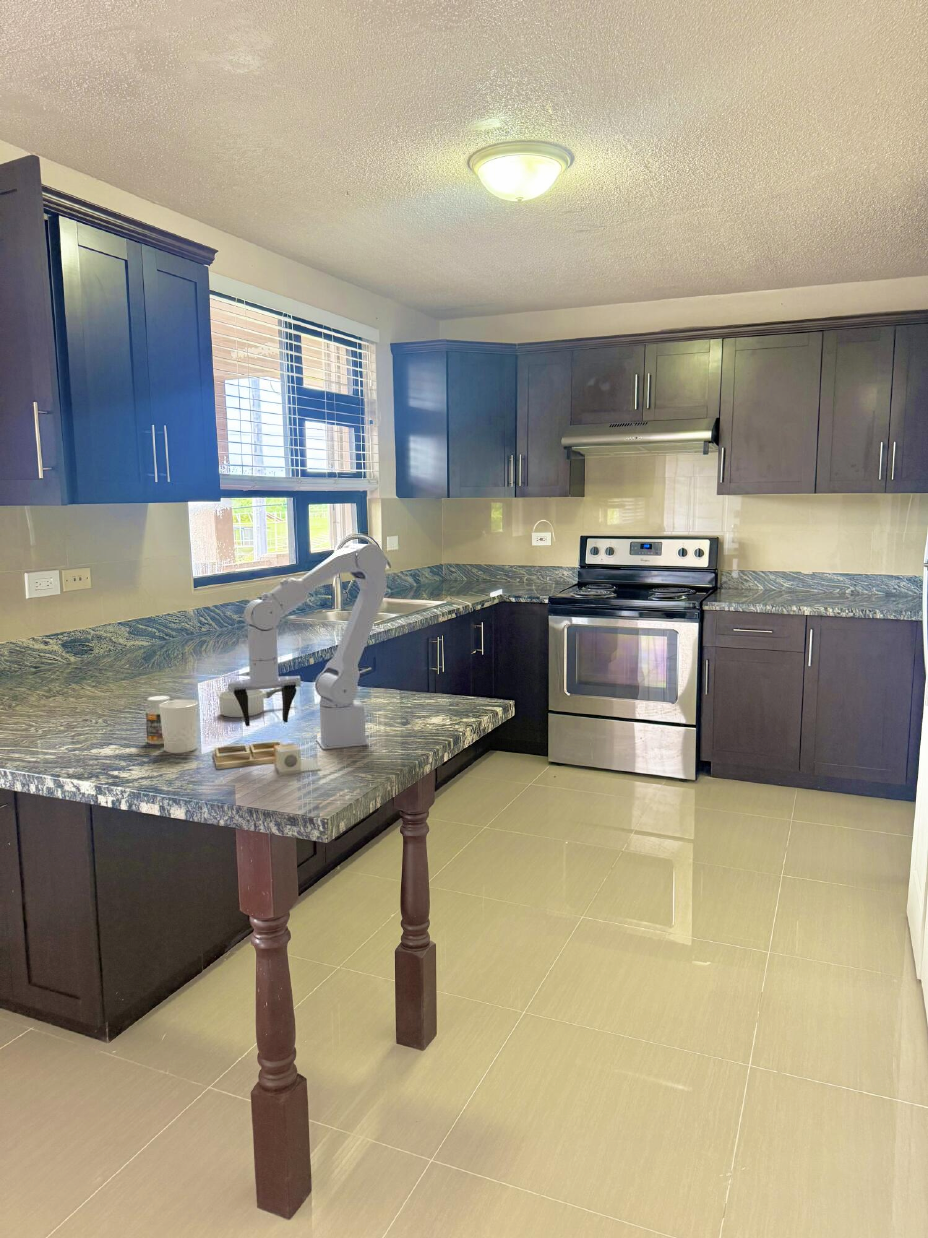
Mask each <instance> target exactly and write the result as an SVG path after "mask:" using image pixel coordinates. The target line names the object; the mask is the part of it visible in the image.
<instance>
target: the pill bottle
mask: <svg viewBox="0 0 928 1238" xmlns="http://www.w3.org/2000/svg"><path fill="white" fill-rule="evenodd" d="M167 701H171V697H170V696H168V695H155V696H150V697H147V705H148V707H147V708H146V710H145V725H146V726H145V727H146V742H147V743H148V744H151V745H164V739H163V735H162V727H161V718H160V708H159V705H160V704H161V703H164V702H167Z"/></svg>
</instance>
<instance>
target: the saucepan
mask: <svg viewBox="0 0 928 1238" xmlns="http://www.w3.org/2000/svg"><path fill="white" fill-rule="evenodd" d="M246 692H247V695H248V713H249V717H253V716H257V715H259V714H261V713H263V712H264V710H265V706H264V704H265V703H264V699H270V698H272V696H274V694H276V693H280V692H281V693H282V691H281V688H272V689H270V690H268V691H267V690H264V689H259V690H248V691H246ZM217 696H218V697H219V698H218V700H219V714H220V715H222V716H225V717H227V718H244V716H243V712H242V710H241V707H240V705H239V702H238V700H237V699H236V697H235V695H234V693H229V692H228V689H227V690H224V691H220V692H218V693H217Z"/></svg>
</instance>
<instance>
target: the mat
mask: <svg viewBox="0 0 928 1238" xmlns="http://www.w3.org/2000/svg"><path fill="white" fill-rule="evenodd" d="M273 766H274V767H275V769H276V770H277V773H278V775H279V776H285V775H286V776H287V775H294V774H300V773H310V772H317V771H318V772H319V771H322V768H321V767H320V765H319V764H318V763H317V761H316V759H315V758H314V757H311V758H303V759H302V758H301V769H300V770H293V771H286V772H280V771H279V770H278V768H277V767H276V766H275V762H273Z"/></svg>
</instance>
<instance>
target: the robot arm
mask: <svg viewBox="0 0 928 1238" xmlns="http://www.w3.org/2000/svg"><path fill="white" fill-rule="evenodd" d="M388 562H389V561H388V558H387V557H386V555H385V553H384V552H383V550H382V548H381V547H380V546H378V545H376V544H374V543H368V544H366V543H357V542H350V543H348V544H347V545H344V547H343V548H339V549H337V550H336V551H334V553H333V554H331V555H330V556H328V557H327V558H326V559H324V560H323V561H322V562H321V563H319V564H318V565H316V566H315V567H314V568H313V569H311V570H309V572H307V573H305V575H303V576H301V577H300V578H299V579H297V578H294V577H290V578H289V579H287V578H283V579H281V580H279V585H277V586H276V587H275V588H273V589H271V591H269V592H268V593H267V592H263V593H262V594H261V595H260V596H261V599H254V600H251V601H250V602H248V604H247V605H246V606H245V608H244V610H243V613H242V618H243V621H244V622H245V624H247V635H248V636H247V643H248V644H247V645H248V661H249V662H248V663H249V678H247V679H245V678H244V679H240V680H239V679H238V680H235V681H234V680H232V681H227V690H228V692H229V693H234V695H235V697H236V699H237V700H238V702H239V705H240V707H241V710H242V712H243V716H244V717H243V718H244V724H245V727H250V725H251V724H250V716H249V713H248V695H247V692H246V691H248V690H259V689H260V690H268V689H270V690H271V689H278V688H281V701H282V712H281V713H282V722H283V723H285V724H286V723H289V721H288V720H289V715H290V710H291V705H293V704H292V703H293V700H294V698H295V696H296V694H297V688H299V687H301V686H302V684H301V683H302V682H301V681H302V680H301V677H300V675H294V676H293V675H292V676H291V675H290V676H288V675H287V676H279V661H278V660H279V658H278V657H279V656H278V639H277V638H278V637H277V636H278V635H277V626H278V625H279V623H280V621H281V618H283V617H285V616H286V615H288V614H289V613H290V612H292V611H294V610H295V609H297V608H298V607H299V606H301V605H303V603H305V602H307V600H308V596H309V592H312V591H313V590H314V589H316V588H318V587H319V586H321V585H323V584H324V583H326V582H327V581H329V580H330V579H332V578H334V577H335V576H337V575H339V574H344V573H349V574H350V575H351V576H352V577H353V578H354V579H355V582H356V584H357V585H358V588H359V590H360V591H359V592H358V596H357V597H356V601H355V602H354V605H353V607H352V611H351V613H350V615H349V618H348V621H347V622H346V625H345V628H344V631H343V634H342V636H341V638H340V642H339V643H338V646H337V648H336V651H335V654H334V656H333V657H332V658H330V660H329V661H327V662H326V664H325V667H324V669H323V670H322V672H320V673H319V674H318V675H317V676H316V679H315V682H314V688H315V691H316V694H317V695H318V696H320V700H319V718H320V719H319V722H320V723H319V727H320V737H317V738H316V739H315V740H316V742H317V744H318V745H319V746H320V747H321V749H322V750H330V749H331V750H332V749H333V750H334V749H343V748H351V747H360V746H366V745H367V742H366V739H367V738H366V714H365V712H366V711H365V708H364V704H363V702H361V701H355V699H356V698H357V695H358V692H359V690H358V689H359V687H358V683H359V679H360V676H361V675H360V671H359V665H358V664H360V663H359V662H360V660H361V657H362V654H363V652H364V651H365V647H366V645H367V642H368V640H369V637H370V634H371V631H372V629H373V627H374V624H375V621H376V619H377V616H378V614H379V611H380V608H381V606H382V604H383V601H384V597H385V596H386V593H387V591H388V590H387V589H388V588H387V586H388V585H387V571H386V569H387V568H386V567H387V565H388Z"/></svg>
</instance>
